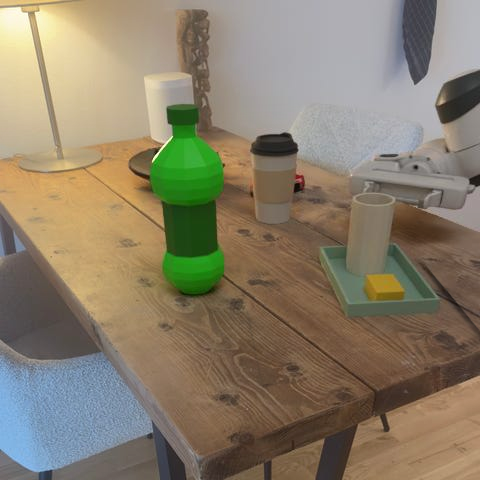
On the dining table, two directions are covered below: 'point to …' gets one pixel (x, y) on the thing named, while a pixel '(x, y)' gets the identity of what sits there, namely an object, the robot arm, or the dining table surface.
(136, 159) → the oil lamp
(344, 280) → the tray
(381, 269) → the cup
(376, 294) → the sponge
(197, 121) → the plastic bottle
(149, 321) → the dining table surface
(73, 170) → the dining table surface
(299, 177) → the race car
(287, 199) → the coffee cup
